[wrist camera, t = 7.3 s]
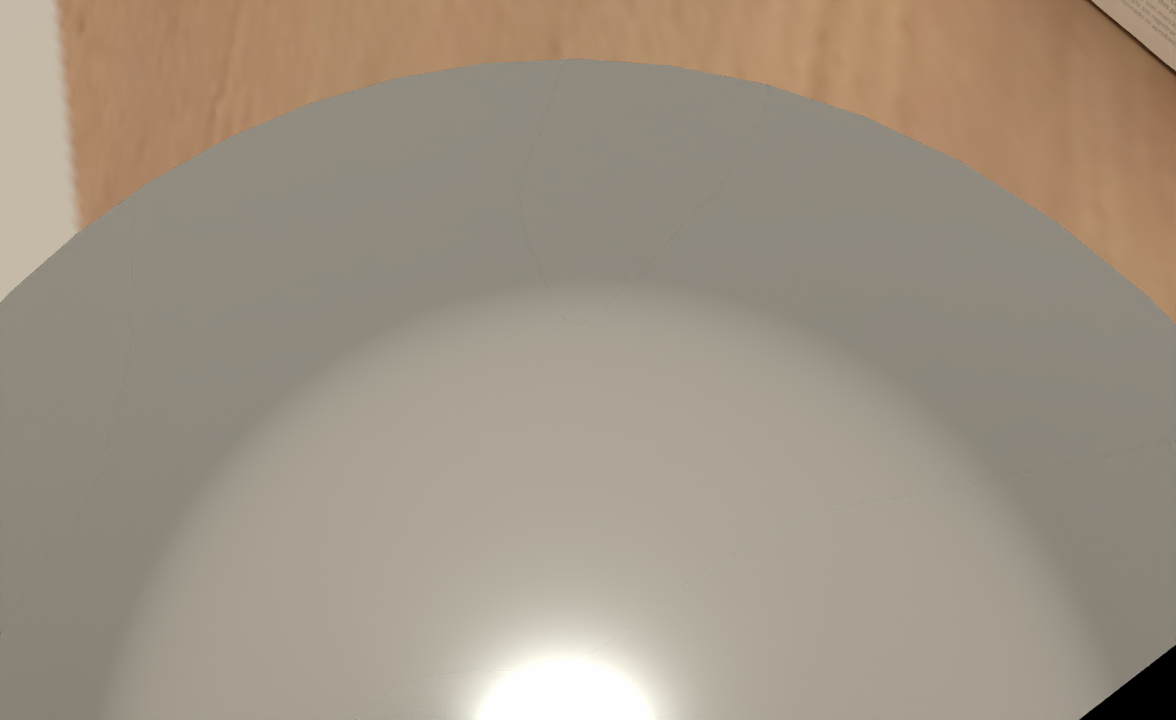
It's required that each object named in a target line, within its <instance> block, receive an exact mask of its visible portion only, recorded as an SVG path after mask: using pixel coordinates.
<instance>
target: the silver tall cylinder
mask: <svg viewBox="0 0 1176 720" xmlns="http://www.w3.org/2000/svg"><path fill="white" fill-rule="evenodd" d="M0 720H1176V325H1175V324H1174V323H1173V322H1172V321H1171V319H1170V318H1169V317H1168V316H1167V315H1166V314H1165V313H1164V312H1163V311H1162V310H1161V309H1160V308H1159V307H1158V306H1157V305H1156V304H1155V303H1154V302H1153V301H1152V300H1151V299H1150V298H1149V297H1148V296H1147V295H1146V294H1144V293H1143V292H1142V291H1141V290H1139V289H1138V288H1137V287H1136V286H1135V285H1133V284H1132V283H1131V282H1130V281H1128V280H1127V279H1126V278H1125V277H1123V276H1122V275H1121V274H1120V273H1119V272H1117V271H1116V270H1115V269H1114V268H1112V267H1111V266H1110V265H1109V264H1108V263H1106V262H1105V261H1104V260H1103V259H1101V258H1100V257H1099V256H1098V255H1096V254H1095V253H1094V252H1093V251H1092V250H1090V249H1089V248H1088V247H1087V246H1085V245H1084V244H1083V243H1082V242H1081V241H1079V240H1078V239H1077V238H1076V237H1074V236H1073V235H1072V234H1071V233H1069V232H1068V231H1067V230H1066V229H1065V228H1063V227H1062V226H1061V225H1060V224H1058V223H1057V222H1056V221H1054V220H1053V219H1051V218H1049V217H1048V216H1046V215H1045V214H1043V213H1041V212H1040V211H1038V210H1037V209H1035V208H1034V207H1032V206H1030V205H1029V204H1027V203H1026V202H1024V201H1022V200H1021V199H1019V198H1018V197H1016V196H1014V195H1013V194H1011V193H1010V192H1008V191H1006V190H1005V189H1003V188H1002V187H1000V186H999V185H997V184H995V183H994V182H992V181H991V180H989V179H987V178H986V177H984V176H983V175H981V174H979V173H978V172H976V171H975V170H973V169H971V168H970V167H968V166H967V165H965V164H964V163H962V162H960V161H958V160H956V159H954V158H952V157H950V156H947V155H945V154H943V153H941V152H939V151H937V150H935V149H932V148H930V147H928V146H926V145H924V144H922V143H920V142H918V141H915V140H913V139H911V138H909V137H907V136H905V135H903V134H900V133H898V132H896V131H894V130H892V129H890V128H888V127H886V126H883V125H881V124H879V123H877V122H875V121H873V120H871V119H869V118H866V117H864V116H861V115H858V114H855V113H852V112H849V111H846V110H843V109H840V108H837V107H834V106H831V105H828V104H825V103H822V102H819V101H816V100H813V99H809V98H806V97H803V96H800V95H797V94H794V93H791V92H788V91H785V90H782V89H779V88H776V87H773V86H770V85H767V84H762V83H757V82H751V81H746V80H741V79H736V78H731V77H726V76H721V75H716V74H711V73H705V72H700V71H695V70H690V69H685V68H680V67H675V66H668V65H654V64H640V63H627V62H613V61H599V60H585V59H564V60H543V61H523V62H503V63H484V64H478V65H472V66H466V67H460V68H454V69H448V70H442V71H436V72H431V73H425V74H419V75H413V76H407V77H401V78H395V79H392V80H388V81H385V82H382V83H378V84H375V85H371V86H368V87H365V88H361V89H358V90H354V91H351V92H347V93H344V94H340V95H337V96H334V97H330V98H327V99H323V100H320V101H317V102H313V103H310V104H308V105H305V106H303V107H300V108H298V109H296V110H293V111H291V112H288V113H286V114H284V115H281V116H279V117H277V118H274V119H272V120H269V121H267V122H265V123H262V124H260V125H257V126H255V127H253V128H250V129H248V130H246V131H243V132H241V133H238V134H236V135H234V136H231V137H229V138H227V139H225V140H224V141H222V142H220V143H218V144H216V145H215V146H213V147H211V148H209V149H207V150H206V151H204V152H202V153H200V154H198V155H197V156H195V157H193V158H191V159H189V160H188V161H186V162H184V163H182V164H180V165H179V166H177V167H175V168H173V169H171V170H170V171H168V172H166V173H164V174H162V175H161V176H159V177H157V178H155V179H153V180H152V181H150V182H149V183H147V184H146V185H145V186H143V187H142V188H140V189H139V190H137V191H136V192H135V193H133V194H132V195H130V196H129V197H128V198H126V199H125V200H123V201H122V202H121V203H119V204H118V205H116V206H115V207H113V208H112V209H111V210H109V211H108V212H106V213H105V214H104V215H102V216H101V217H99V218H98V219H96V220H95V221H94V222H92V223H91V224H89V225H88V226H87V227H85V228H84V229H82V230H81V231H80V232H78V233H77V234H76V235H75V236H74V237H72V238H71V239H70V240H69V241H68V242H67V243H66V244H65V245H63V246H62V247H61V248H60V249H59V250H58V251H57V252H56V253H54V254H53V255H52V256H51V257H50V258H49V259H47V260H46V261H45V262H44V263H43V264H42V265H41V266H39V267H38V268H37V269H36V270H35V271H34V272H33V273H32V274H30V275H29V276H28V277H27V278H26V279H25V280H23V281H22V282H21V283H20V284H19V285H18V286H17V287H16V288H14V289H13V290H12V291H11V292H10V293H9V294H8V295H7V296H6V297H5V298H4V299H3V301H2V302H1V303H0Z"/></svg>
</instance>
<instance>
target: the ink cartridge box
mask: <svg viewBox="0 0 1176 720" xmlns="http://www.w3.org/2000/svg"><path fill="white" fill-rule="evenodd" d="M1091 1H1092V2H1094V3H1095V4H1096V5H1097V6H1098V7H1099V8H1101V9H1102V10H1103V11H1104V12H1105V13H1107V14H1108V15H1109V16H1110V17H1111V18H1113V19H1114V20H1115V21H1116V22H1117V23H1119V24H1120V25H1121V26H1122V27H1123V28H1125V29H1126V30H1127V31H1128V32H1130V33H1131V34H1132V35H1133V36H1134V37H1136V38H1137V39H1138V40H1139V41H1140V42H1142V43H1143V44H1144V45H1145V46H1146V47H1147V48H1148V49H1149V50H1150V51H1152V52H1153V53H1154V54H1155V55H1156V56H1157V57H1159V58H1160V59H1161V60H1162V61H1163V62H1165V63H1166V64H1167V65H1169V66H1170V67H1171V68H1173V69H1174V70H1175V71H1176V0H1091Z"/></svg>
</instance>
